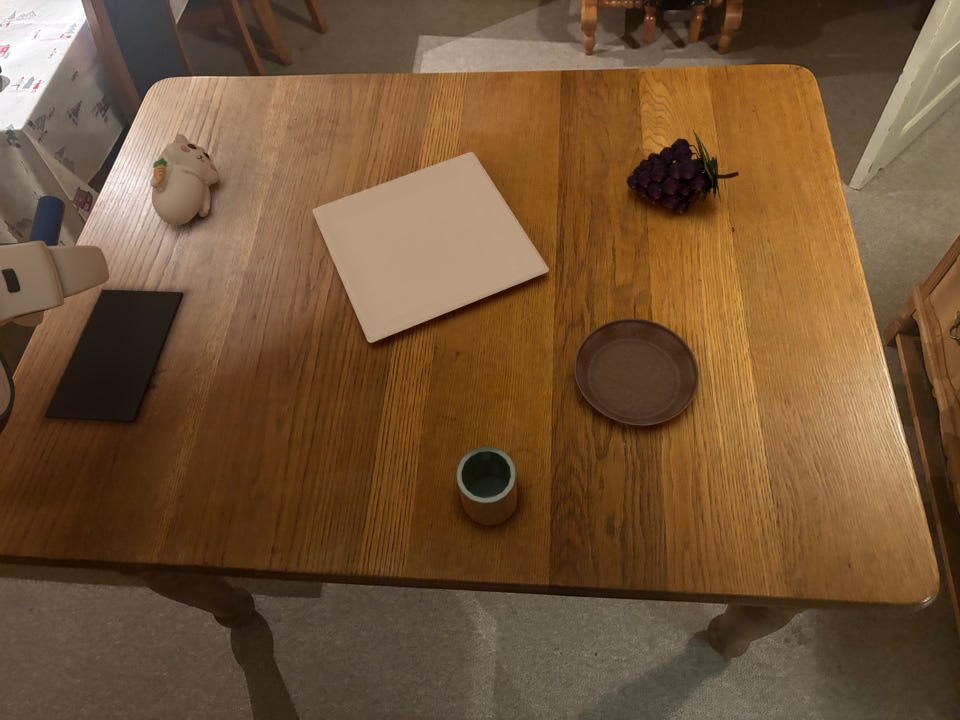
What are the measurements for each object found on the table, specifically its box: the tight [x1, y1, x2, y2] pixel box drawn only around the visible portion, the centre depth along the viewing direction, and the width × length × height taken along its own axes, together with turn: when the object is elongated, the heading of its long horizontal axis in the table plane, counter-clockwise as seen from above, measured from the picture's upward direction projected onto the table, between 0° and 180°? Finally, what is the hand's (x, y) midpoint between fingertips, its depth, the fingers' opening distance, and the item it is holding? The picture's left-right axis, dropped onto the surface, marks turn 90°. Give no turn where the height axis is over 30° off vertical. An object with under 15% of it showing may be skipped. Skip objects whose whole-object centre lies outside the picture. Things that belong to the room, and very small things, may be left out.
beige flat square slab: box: [311, 151, 550, 344], centre depth 94 cm, size 26×26×2 cm
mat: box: [44, 289, 184, 423], centre depth 89 cm, size 20×12×1 cm, turn 175°
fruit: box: [626, 129, 740, 214], centre depth 92 cm, size 10×11×15 cm
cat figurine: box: [149, 133, 220, 226], centre depth 99 cm, size 10×8×15 cm
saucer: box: [573, 317, 700, 426], centre depth 81 cm, size 15×15×3 cm
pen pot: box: [455, 445, 518, 527], centre depth 72 cm, size 6×6×8 cm
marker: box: [11, 195, 67, 328], centre depth 75 cm, size 3×3×17 cm
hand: (41, 272), depth 75 cm, fingers closed on marker, 3 cm apart
